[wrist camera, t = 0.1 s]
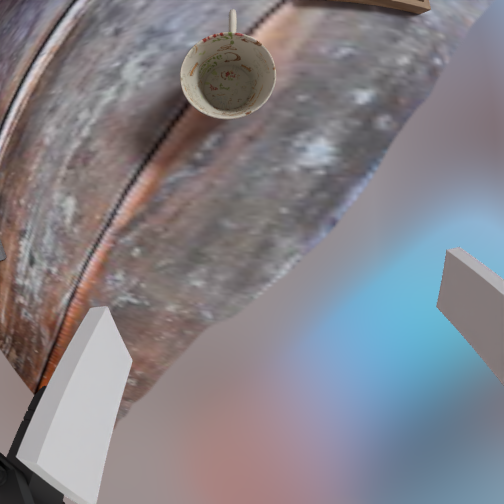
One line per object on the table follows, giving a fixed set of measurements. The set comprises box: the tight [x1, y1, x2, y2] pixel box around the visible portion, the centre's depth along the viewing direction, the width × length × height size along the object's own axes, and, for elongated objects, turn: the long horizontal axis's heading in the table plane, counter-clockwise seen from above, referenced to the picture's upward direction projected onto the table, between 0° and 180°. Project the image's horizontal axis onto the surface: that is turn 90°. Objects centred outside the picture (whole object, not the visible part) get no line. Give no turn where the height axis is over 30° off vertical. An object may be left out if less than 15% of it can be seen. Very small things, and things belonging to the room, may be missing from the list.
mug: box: [180, 9, 276, 119], centre depth 26 cm, size 8×13×10 cm, turn 0°
